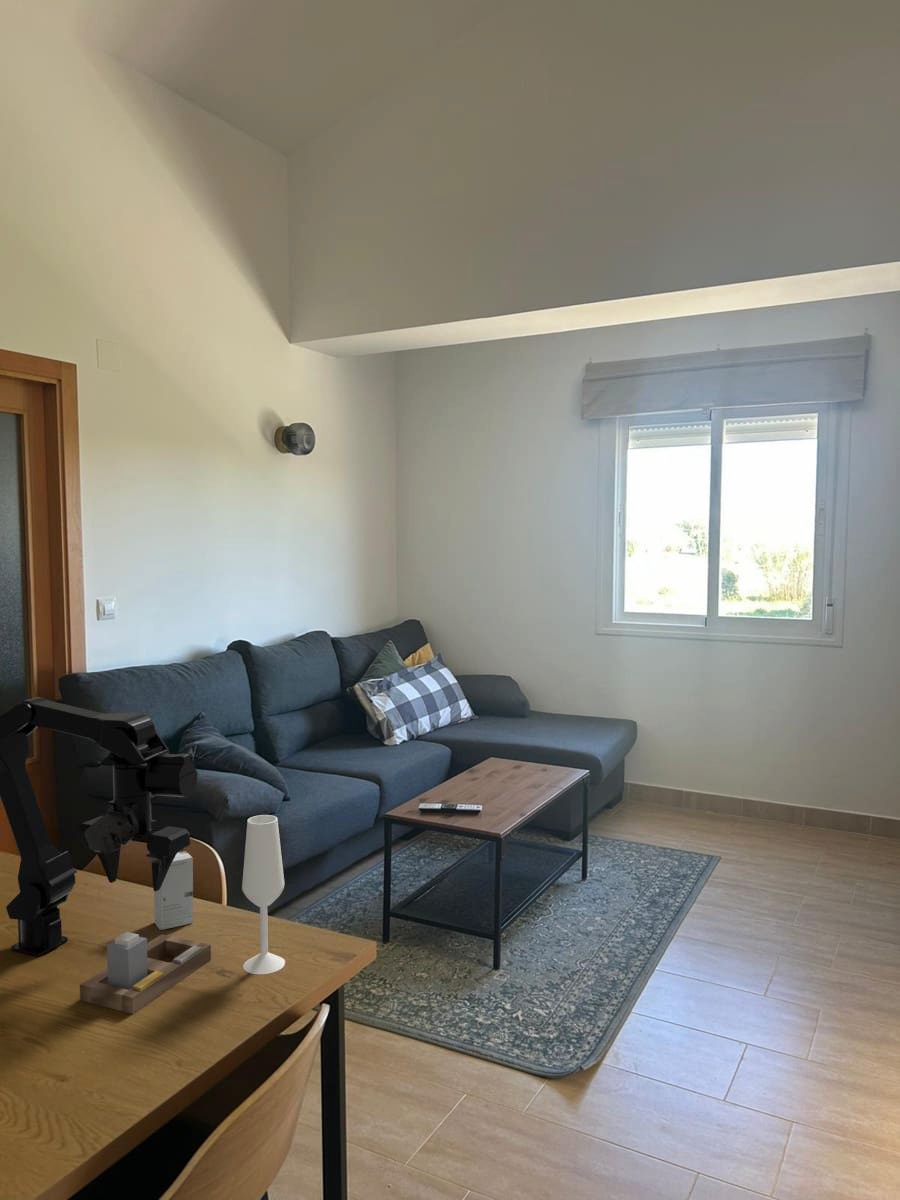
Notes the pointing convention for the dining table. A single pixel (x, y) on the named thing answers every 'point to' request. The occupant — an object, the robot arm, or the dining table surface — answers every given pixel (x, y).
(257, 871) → the champagne flute
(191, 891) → the skincare box
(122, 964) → the plug
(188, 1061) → the dining table surface
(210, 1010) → the dining table surface
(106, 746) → the robot arm
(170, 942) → the brown wooden flat frame
